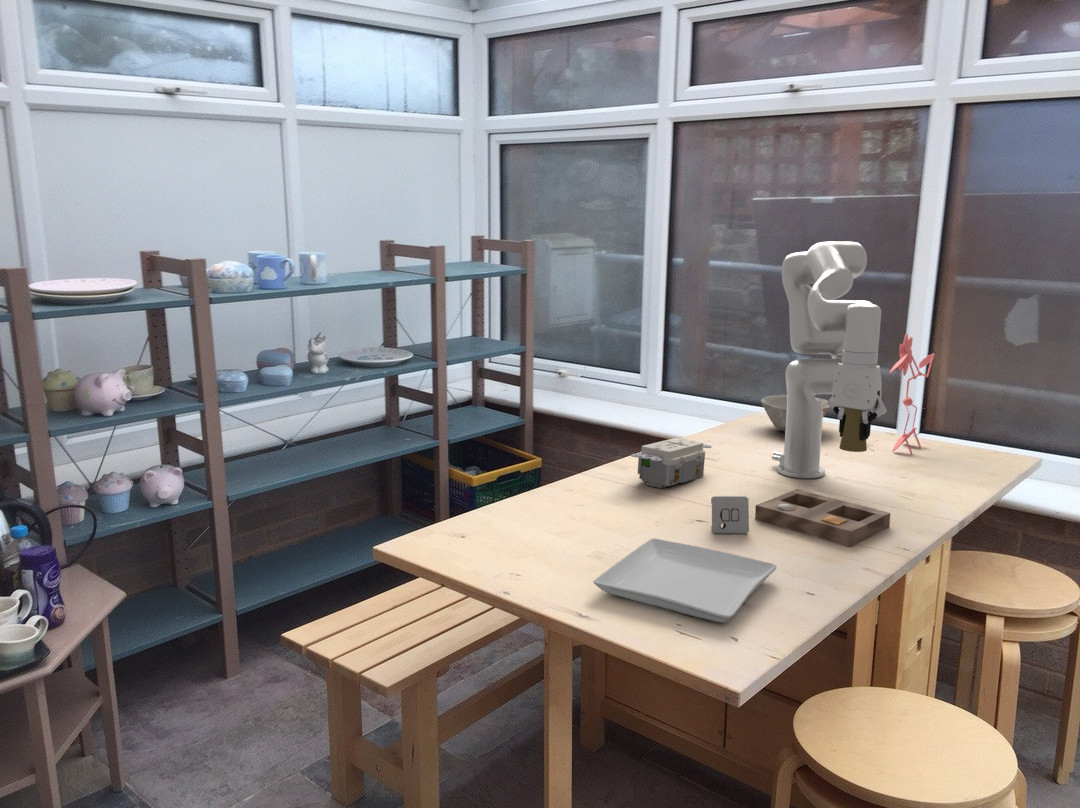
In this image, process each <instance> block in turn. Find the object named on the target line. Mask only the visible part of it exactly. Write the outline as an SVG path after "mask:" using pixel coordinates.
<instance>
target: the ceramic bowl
mask: <svg viewBox="0 0 1080 808" xmlns="http://www.w3.org/2000/svg"><path fill="white" fill-rule="evenodd" d="M815 399H816V400H817V401H818V403H819V404H820V405H821V407H822V410H823V418H825V416H826V415H827V413H828V412H829V410H830V409H832V408H831V407H830V406H829V405H828V404H827V402H828V400H827V399H824V398H820V397H815ZM761 404H762V407H763V409H764V411H765V413H766V415H767V416H768V418H769V420H770V422H771V424H772V425H773V426H774V427H775V428H776V429H778V430H779V431H782V432H784V433H785V431H786V414H787V394H783V395H782V394H781V395H779V394H776V395H768V396H764V397H762V398H761Z"/></svg>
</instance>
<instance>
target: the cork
mask: <svg viewBox="0 0 1080 808" xmlns="http://www.w3.org/2000/svg"><path fill="white" fill-rule="evenodd" d="M844 412H845V414H846V419H845V424H844V429H843V434H842V437H840V438H841V439H840V442H839V448H838V449H840V450H842V451H845V452H850V453H851V452H852V453H863V452H867V450H868V446H867V445H868V443H867V439H866V440H863V441H861V440H860V435H859V434H860V424H861V423H863V418H862V411H860V410H854V409H848V408H844Z"/></svg>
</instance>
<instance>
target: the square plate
mask: <svg viewBox="0 0 1080 808" xmlns="http://www.w3.org/2000/svg"><path fill="white" fill-rule="evenodd" d="M777 567H778V566H777V565H776V564H775V563H771V562H767V561H762V560H758V559H755V558H749V557H746V556H742V555H737V554H734V553H733V554H732V553H729V552H724V551H722V550H721V551H720V550H717V549H716V550H715V549H711V548H707V547H701V546H696V545H691V544H686V543H680V542H675V541H670V540H665V539H659V538H650V539H648V540H647V541H646V542H644V543H642V545H640V546H638V547H637V548H635V550H633V551H632V552H630V553H628V554H627V555H625V556H624V557H623V558H622V559H620V560H619V561H618V562H616V563H615V564H614V565H612V566H611V567H610V568H608V569H607V570H606V571H604V572H603V573H602V574H600V575H599V576H598V577H596V578H595V579H594V580H593V581H592V582H593V584H594V585H595V586H596V587H597V588H598V589H600V590H602V591H603V592H605V593H607V594H611V595H614V596H618V597H620V598H626V599H628V600H632V601H634V602H638V603H643V604H647V605H650V606H654V607H657V608H658V607H659V608H662V609H665V610H670V611H673V612H678V613H681V614H685V615H688V616H691V617H694V618H695V617H696V618H699V619H703V620H708V621H712V622H718V623H726V622H728V621H729V620H730V619H731V618H732V617H734V616H735V615H736V614H737V612H738V611H739V610H740V609H741V607H742V606H743V604H744V603H745V602H746V601H747V599H748V598H749V596H750V595H752V593H754V591H755V590H756V589H758V588H759V587H760V586H761V585H762V584H763V583H764V582H765V581H766V580H767V578H768V577H770V576H771V574H773V572H775V571H776V569H777Z"/></svg>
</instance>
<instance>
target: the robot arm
mask: <svg viewBox="0 0 1080 808" xmlns="http://www.w3.org/2000/svg"><path fill="white" fill-rule="evenodd" d="M867 261H868V255H867V252H866V249H865V248H864V246H863V245H862V244H860V243H859V242H855V241H821V242H817V243H815V244H814V245H813V244H812V246H811V247H810V248H809V249H808V250H807V251H799V252H793V253H790V254H788V255H786V257H784V260H783V261H782V264H781V265H782V266H781V279H782V285H783V288H784V292H785V295H786V298H787V301H788V307H789V308H788V309H789V314H788V315H789V339H790V346H791V349H792V350H793V352H795V353H796V354H802V355H830V356H831V358H798V359H795V360H792V361H791V362H789V363H788V364H787V366H786V369H785V385H786V395H787V414H786V431H785V432H784V433H785V434H784V449H783V450H784V451H783V453H782V452H779V451H773V452H772V453H773V454H772V456H771V459H772V461H779V464H778V465H777V467H776V471H777V473H779V474H781V475H783V476H786V477H790V478H795V479H817V478H822V477H823V476H824V475H825V473H826V471H825V468H824V467H822V466H820V460H821V449H822V448H821V446H822V435H823V433H822V432H823V421H824V420H823V418H824V417H823V410H822V407H821V405H820V404H819V403H818V401H817V400H816V399H815V398H816V397H815V396H817V395H831V397H830V398H829V399H828V400H827V401H828V402H827V404H828V405H829V406H830V407H831V408H830V409H832V411H833V412H834V413H835V415H836V416H837V419H838V420H839V423H838V424H839V425H838V426H839V427H838V432H839V437H840V438H842V434H843V429H844V424H845V419H846V414H845V412H844V408H848V409H854V410H860V411H862V418H863V423H861V424H860V434H859V435H860V440H861V441H863V440H866V441H867V440H868V439H869V437H870V436H871V435H870V434H871V426H872V423H873V422H874V421H875V420H877V418H878V417H880V416H882V415H884V414H886V413H887V412H888V410H887V408H886V406H885V404H884V402H883V400H882V392H883V391H882V388H883V387H882V386H883V385H882V373H881V367H880V365H878V360H879V359H878V358H879V346H880V345H879V343H880V333H881V320H882V319H881V318H882V309H881V307H880V306H879V305H877V304H873V303H872V302H871V301H868V300H859V299H856V300H853V299H852V300H850V299H839V298H841V297H844V296H845V295H846V294H848V292H850V290H851V289H852V287H853V285H854V279H856V278H858V277H860V275H862V274H863V273H864V271H865V269H866V267H867V264H868V263H867ZM811 285H813V286H812V287H811ZM873 409H874V410H875V411H874V412H873ZM876 409H877V410H876Z"/></svg>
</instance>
